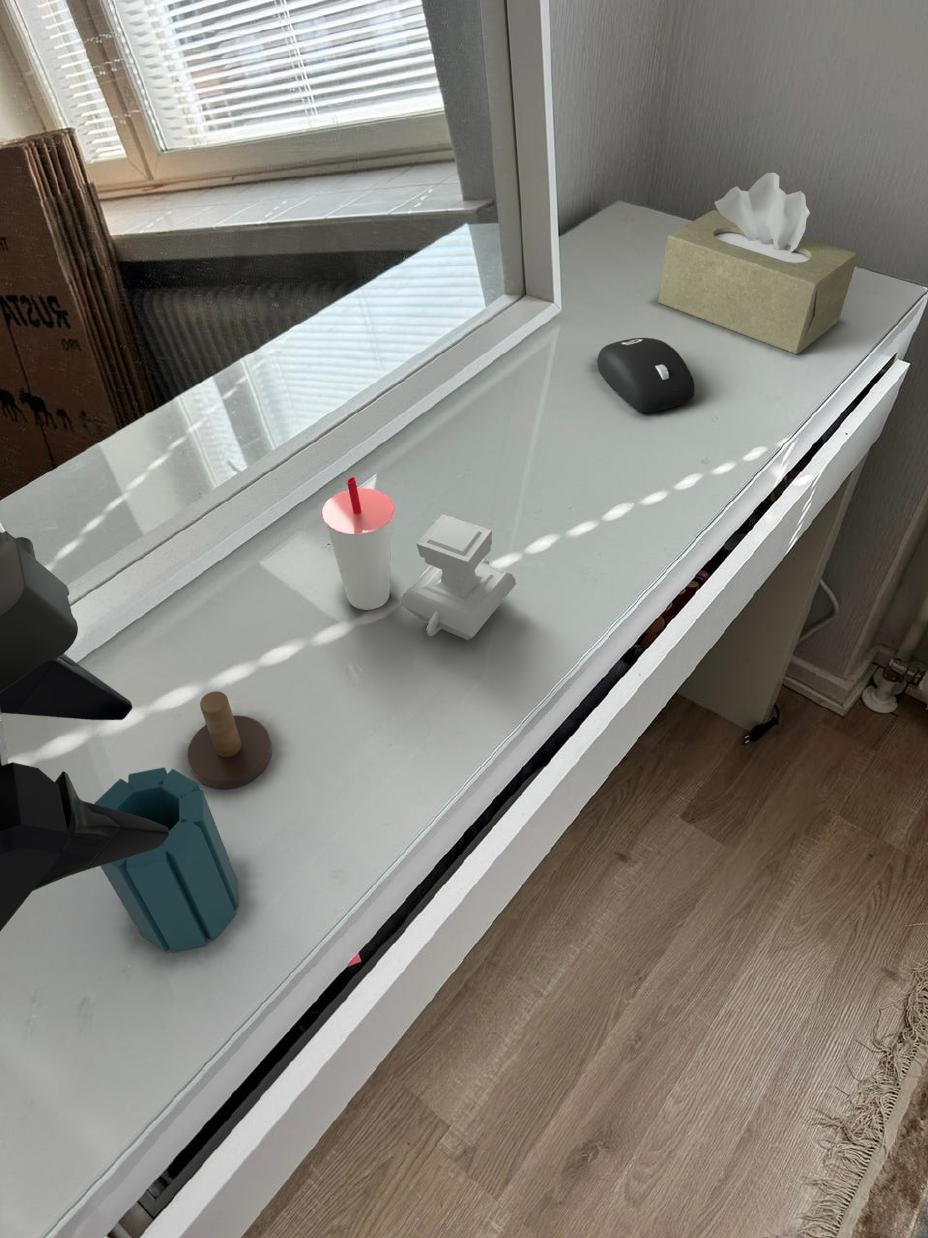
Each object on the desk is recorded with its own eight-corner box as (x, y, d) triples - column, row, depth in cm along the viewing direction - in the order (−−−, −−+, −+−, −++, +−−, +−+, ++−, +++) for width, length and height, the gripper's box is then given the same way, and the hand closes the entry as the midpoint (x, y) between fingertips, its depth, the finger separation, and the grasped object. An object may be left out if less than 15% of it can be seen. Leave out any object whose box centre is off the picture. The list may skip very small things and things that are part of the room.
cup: (330, 617, 73) (310, 498, 64) (341, 571, 77) (324, 453, 68) (397, 620, 73) (386, 501, 64) (404, 574, 76) (395, 455, 68)
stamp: (466, 669, 69) (465, 588, 63) (393, 636, 72) (385, 556, 65) (522, 596, 74) (526, 516, 68) (452, 568, 77) (450, 488, 71)
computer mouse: (639, 348, 101) (644, 314, 98) (701, 402, 94) (709, 368, 91) (580, 363, 99) (583, 329, 96) (638, 420, 92) (644, 385, 89)
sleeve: (137, 961, 54) (85, 877, 47) (139, 870, 58) (90, 780, 51) (241, 938, 55) (205, 852, 47) (235, 850, 59) (201, 759, 52)
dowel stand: (207, 803, 61) (187, 750, 57) (179, 745, 65) (157, 691, 60) (285, 766, 63) (270, 712, 59) (253, 711, 67) (237, 657, 62)
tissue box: (654, 302, 109) (675, 161, 97) (698, 273, 114) (723, 136, 102) (799, 356, 100) (841, 209, 88) (840, 323, 105) (885, 179, 93)
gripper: (-95, 688, 28) (295, 792, 39) (-105, 418, 41) (191, 553, 51) (-263, 929, 30) (148, 963, 41) (-222, 604, 43) (84, 696, 54)
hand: (145, 770), depth 47 cm, fingers open, 9 cm apart
